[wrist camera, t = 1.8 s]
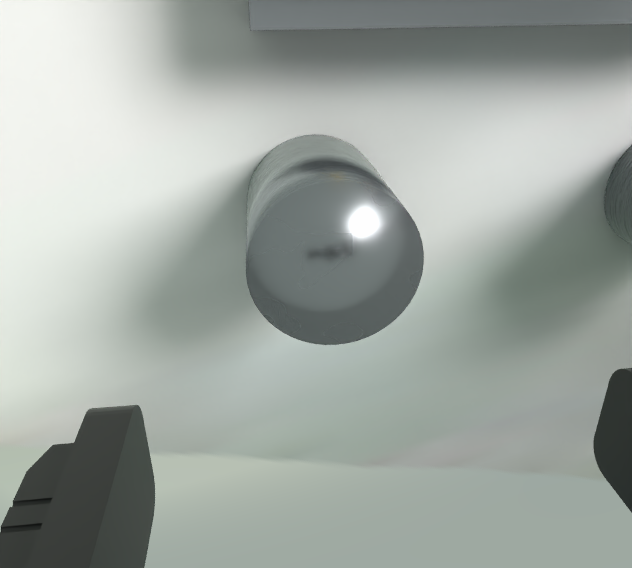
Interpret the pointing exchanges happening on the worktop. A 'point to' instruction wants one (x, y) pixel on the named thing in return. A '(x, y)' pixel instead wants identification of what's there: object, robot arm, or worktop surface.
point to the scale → (432, 13)
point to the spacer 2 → (620, 197)
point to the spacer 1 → (328, 243)
